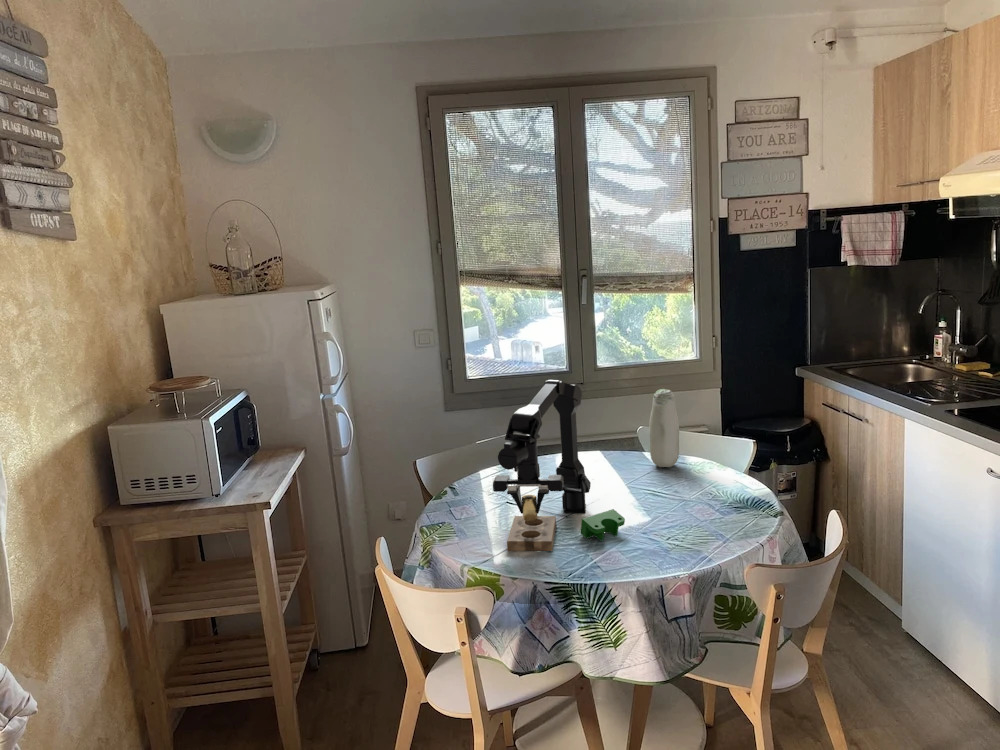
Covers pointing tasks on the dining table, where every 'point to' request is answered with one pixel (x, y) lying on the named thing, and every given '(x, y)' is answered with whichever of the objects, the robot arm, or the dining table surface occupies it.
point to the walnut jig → (532, 534)
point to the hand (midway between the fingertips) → (529, 513)
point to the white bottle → (664, 429)
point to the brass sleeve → (529, 507)
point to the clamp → (601, 524)
